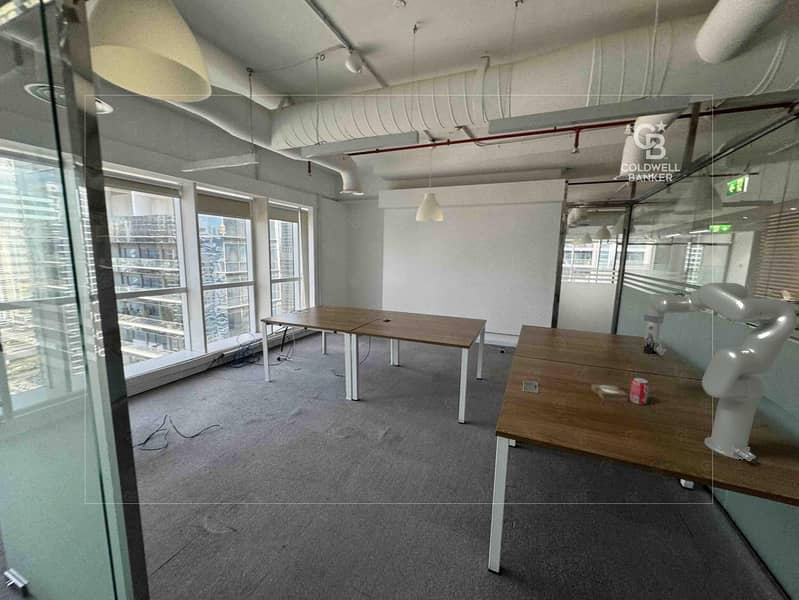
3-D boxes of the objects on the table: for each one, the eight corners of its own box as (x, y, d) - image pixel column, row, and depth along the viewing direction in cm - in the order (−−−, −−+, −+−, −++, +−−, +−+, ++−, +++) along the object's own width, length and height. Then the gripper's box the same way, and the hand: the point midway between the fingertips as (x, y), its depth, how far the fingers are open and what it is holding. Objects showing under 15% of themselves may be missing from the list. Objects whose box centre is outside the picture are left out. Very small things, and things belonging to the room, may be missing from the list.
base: (627, 400, 156) (628, 395, 155) (603, 399, 157) (603, 393, 156) (613, 390, 168) (614, 384, 167) (591, 389, 169) (591, 383, 168)
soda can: (644, 401, 156) (648, 379, 154) (647, 407, 150) (651, 384, 148) (627, 397, 159) (631, 376, 157) (629, 403, 153) (633, 381, 151)
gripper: (662, 323, 143) (656, 357, 146) (664, 317, 155) (659, 349, 158) (642, 320, 148) (636, 353, 151) (645, 314, 160) (641, 345, 163)
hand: (648, 351), depth 155 cm, fingers open, 9 cm apart
